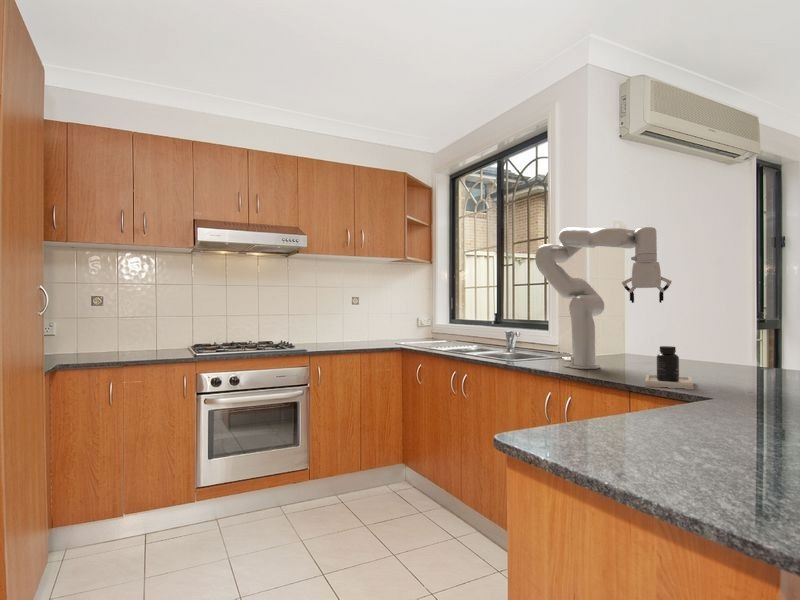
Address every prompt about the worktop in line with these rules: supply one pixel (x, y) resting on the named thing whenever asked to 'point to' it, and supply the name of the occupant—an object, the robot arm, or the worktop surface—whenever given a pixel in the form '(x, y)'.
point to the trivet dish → (682, 383)
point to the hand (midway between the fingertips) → (646, 302)
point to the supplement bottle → (667, 364)
